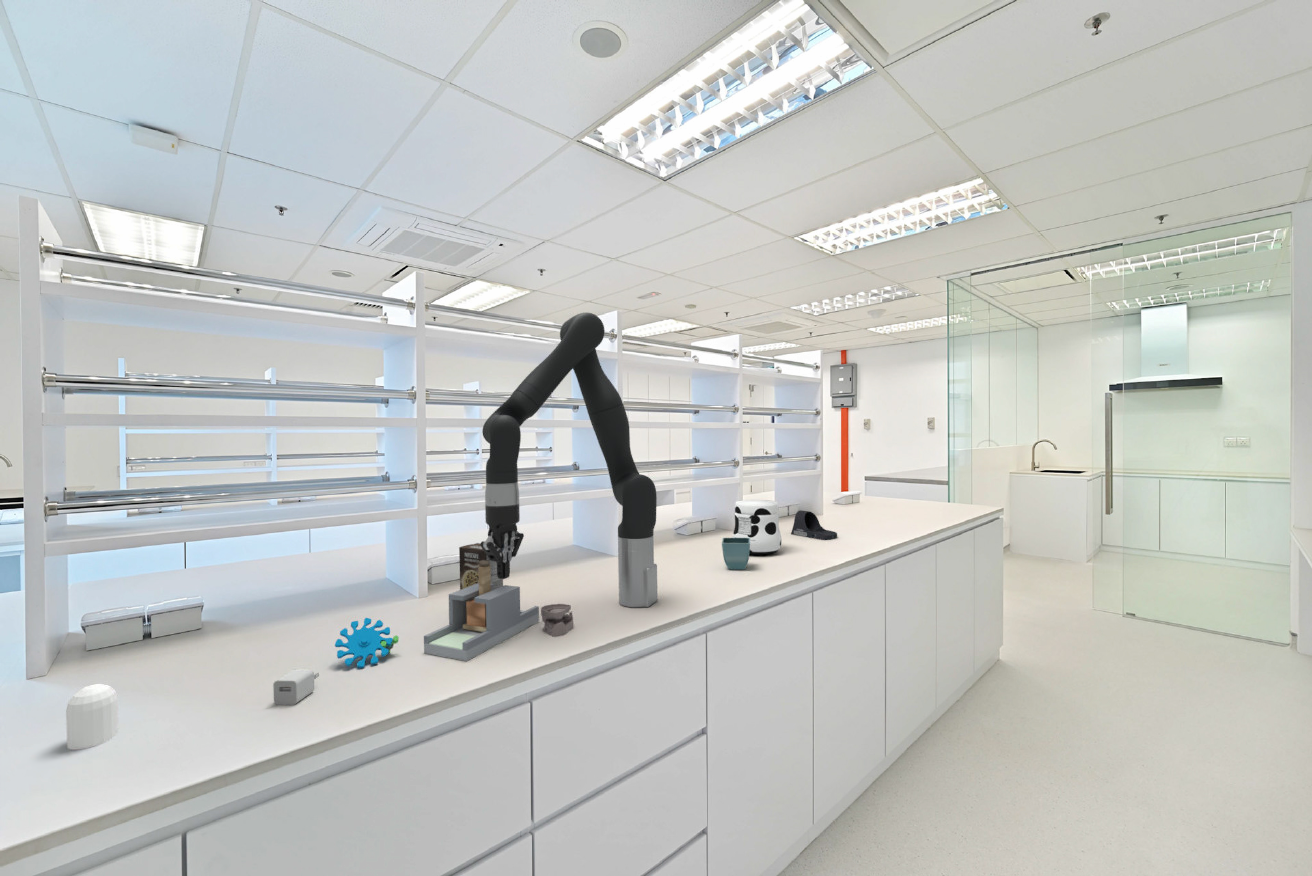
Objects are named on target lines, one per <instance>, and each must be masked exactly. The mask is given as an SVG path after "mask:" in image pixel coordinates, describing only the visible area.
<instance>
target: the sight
mask: <svg viewBox="0 0 1312 876" xmlns="http://www.w3.org/2000/svg"><path fill="white" fill-rule="evenodd" d="M790 535H792V536H798V537H805V538H809V539H814V540H819V541H820V540H821V541H833V540H836V539H838V532H836V531H832V530H829V529H825V528H824V527H823V526H822V525H821V524H820V521H819V519H818V517H817V515H816V514H815V513H814V512H812V511H809V510H808V511H807V510H798V511H796V513H795V516H794V521H793V526H792V529H791V532H790Z"/></svg>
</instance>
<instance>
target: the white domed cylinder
mask: <svg viewBox="0 0 1312 876" xmlns="http://www.w3.org/2000/svg"><path fill="white" fill-rule="evenodd" d="M118 701H119V700H118V694H117V691H116V690H115V689H114V688H113V687H112V686H110V685H107V684H103V683H96V684H90V685H87V686H85V687H82V688H81V689H80V690H78V691H76V692H75V693H74V694H73V695H72V697H71V698H70V699H69V700H68V703H67V704H66V709H65V712H66V713H65V716H66V720H65V721H66V723H65V724H66V748H67V749H68V750H71V751H72V750H73V751H76V750H86V749H88V748H93V747H97V746H98V745H102V744H104V743H107V742H109V741H110V740H113V739H114V738H115V737H117V736H118V734H119V729H120V728H119V727H120V726H119V702H118Z"/></svg>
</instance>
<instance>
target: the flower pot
mask: <svg viewBox="0 0 1312 876" xmlns="http://www.w3.org/2000/svg"><path fill="white" fill-rule="evenodd" d="M721 548H722V557H723V560H724V563H725V565H726V567H727V569H728V570H739V571H740V570H744V571H745V570H746V568H747V566H748V564H749V560H750V554H749V551H750V538H733V537H723V538H722V540H721Z"/></svg>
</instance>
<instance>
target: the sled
mask: <svg viewBox="0 0 1312 876" xmlns="http://www.w3.org/2000/svg"><path fill="white" fill-rule="evenodd" d="M478 569H479V596H480V595H482V594H485V593H487V592H490V591H491V575H490V561H489V560H482V561H479V567H478ZM466 607H467V623H466V624H464V625H463V629H468V630H474V631H481V632H484V631H486V630H487V627H486V604H482V603H475V600H474V599H471V600H469V601H466Z"/></svg>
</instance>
